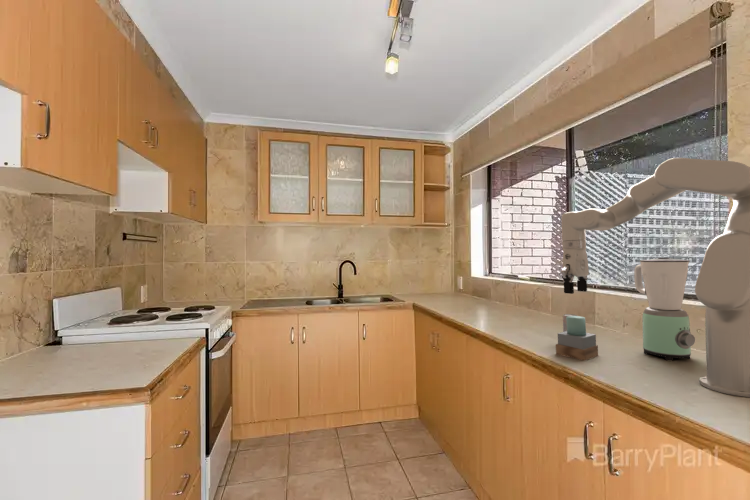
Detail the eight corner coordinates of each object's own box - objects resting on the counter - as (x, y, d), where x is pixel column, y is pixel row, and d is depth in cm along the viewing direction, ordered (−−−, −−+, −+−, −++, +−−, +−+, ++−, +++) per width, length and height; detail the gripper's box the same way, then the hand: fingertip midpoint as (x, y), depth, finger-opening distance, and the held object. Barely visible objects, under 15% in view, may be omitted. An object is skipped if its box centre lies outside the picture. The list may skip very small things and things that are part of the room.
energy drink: (580, 346, 137) (580, 316, 137) (566, 346, 138) (565, 316, 138) (575, 343, 142) (575, 314, 142) (561, 342, 143) (560, 313, 143)
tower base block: (598, 356, 125) (597, 345, 125) (584, 361, 120) (584, 350, 120) (569, 350, 134) (569, 340, 134) (556, 355, 128) (555, 344, 128)
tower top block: (596, 345, 125) (595, 334, 125) (583, 349, 121) (583, 338, 121) (570, 340, 133) (570, 330, 133) (557, 344, 128) (557, 333, 128)
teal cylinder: (589, 333, 126) (588, 317, 126) (580, 336, 122) (579, 319, 123) (572, 331, 131) (571, 315, 131) (563, 333, 128) (563, 317, 128)
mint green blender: (708, 361, 116) (704, 257, 117) (676, 364, 113) (673, 258, 114) (651, 346, 135) (649, 257, 135) (623, 349, 132) (620, 257, 132)
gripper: (572, 245, 119) (574, 295, 119) (596, 245, 129) (597, 291, 128) (551, 246, 125) (552, 293, 125) (575, 246, 135) (576, 289, 135)
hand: (575, 292), depth 127 cm, fingers open, 9 cm apart
